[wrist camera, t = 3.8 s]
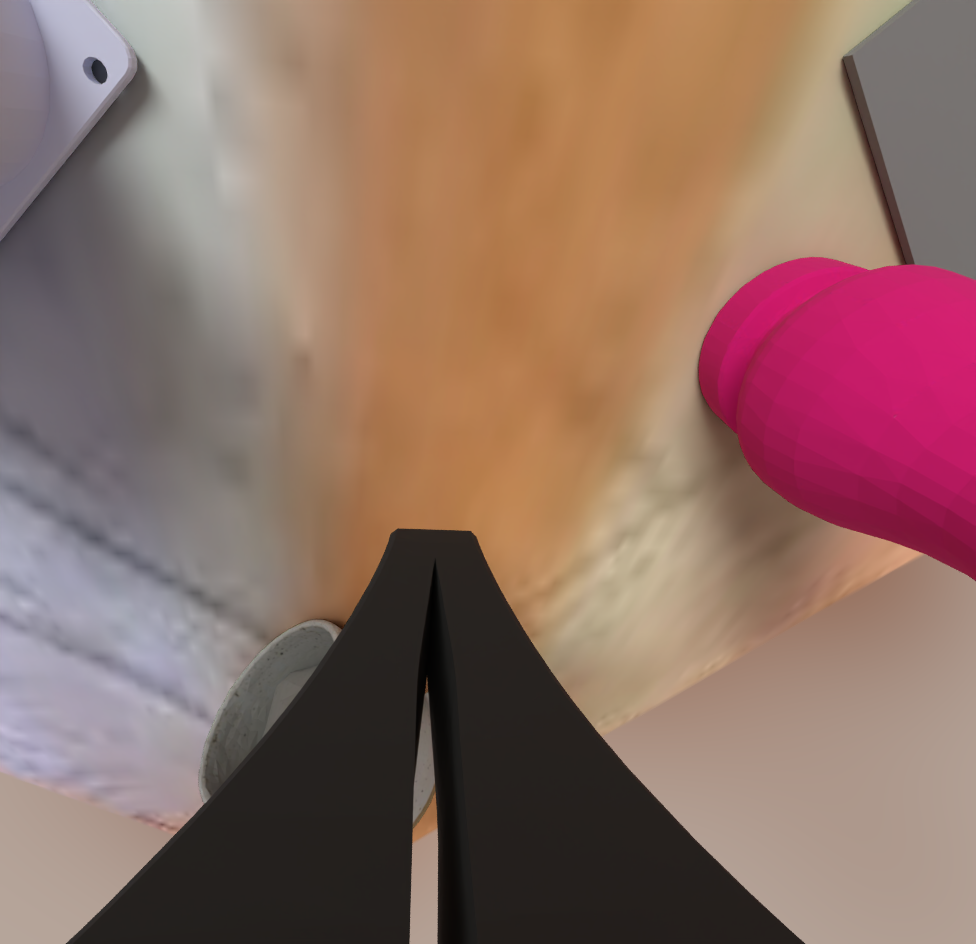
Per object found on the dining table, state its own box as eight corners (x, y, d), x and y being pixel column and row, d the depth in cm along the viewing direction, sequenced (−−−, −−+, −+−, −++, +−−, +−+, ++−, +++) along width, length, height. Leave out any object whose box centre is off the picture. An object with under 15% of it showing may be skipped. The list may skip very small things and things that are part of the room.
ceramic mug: (348, 738, 28) (329, 906, 22) (227, 667, 25) (163, 844, 18) (503, 646, 26) (531, 804, 20) (396, 552, 22) (388, 709, 16)
